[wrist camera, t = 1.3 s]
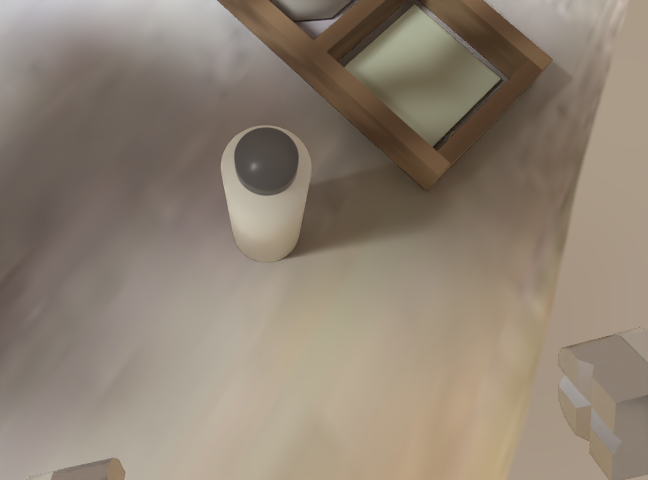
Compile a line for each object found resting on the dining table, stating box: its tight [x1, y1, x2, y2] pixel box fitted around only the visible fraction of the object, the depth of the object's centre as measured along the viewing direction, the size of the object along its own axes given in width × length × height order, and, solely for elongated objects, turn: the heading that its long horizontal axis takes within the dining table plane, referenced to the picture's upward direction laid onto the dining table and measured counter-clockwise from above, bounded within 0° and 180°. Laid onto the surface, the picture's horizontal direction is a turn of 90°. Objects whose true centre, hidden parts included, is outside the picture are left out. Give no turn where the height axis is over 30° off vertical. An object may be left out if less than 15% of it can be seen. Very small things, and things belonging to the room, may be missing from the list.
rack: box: [217, 0, 553, 191], centre depth 43 cm, size 24×12×3 cm, turn 47°
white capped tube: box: [221, 125, 312, 262], centre depth 34 cm, size 4×4×12 cm
